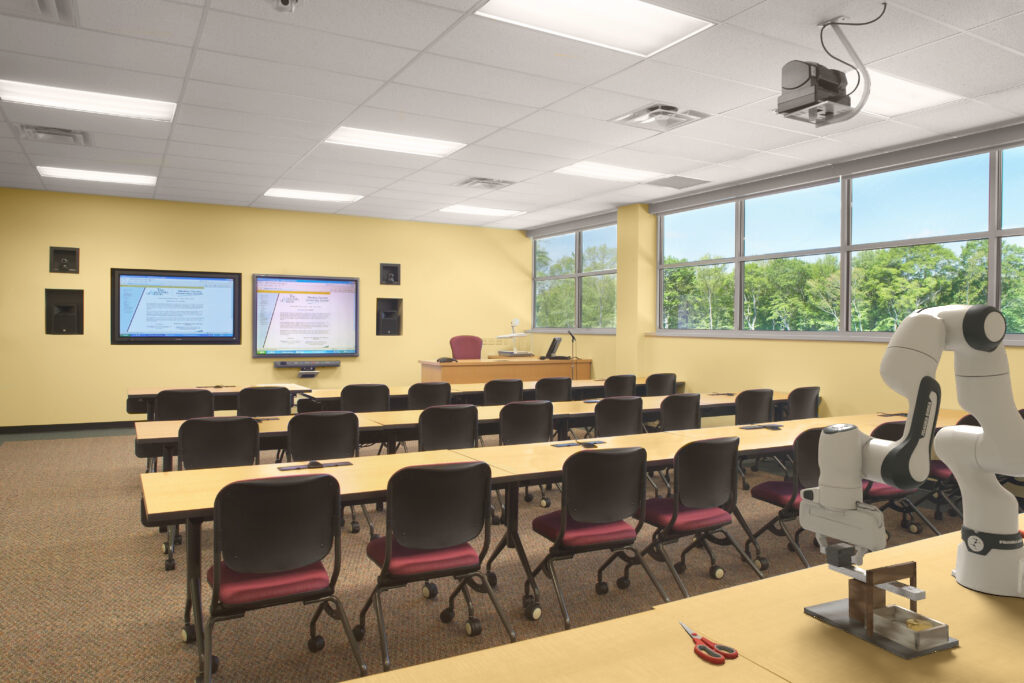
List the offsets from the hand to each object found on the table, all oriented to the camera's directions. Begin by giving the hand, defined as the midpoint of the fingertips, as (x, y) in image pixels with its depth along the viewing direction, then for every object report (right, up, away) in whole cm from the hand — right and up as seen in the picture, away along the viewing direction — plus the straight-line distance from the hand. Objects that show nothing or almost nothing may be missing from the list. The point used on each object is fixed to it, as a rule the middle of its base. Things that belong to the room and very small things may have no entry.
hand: (840, 559), depth 147 cm
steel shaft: (+3, -3, -8) cm, 9 cm away
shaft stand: (+4, -12, -8) cm, 15 cm away
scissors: (-36, -13, -13) cm, 41 cm away
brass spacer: (+7, -7, -17) cm, 20 cm away
